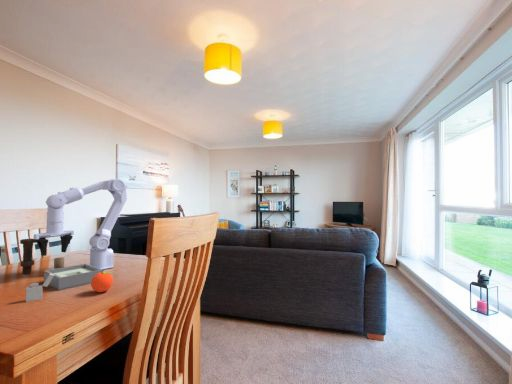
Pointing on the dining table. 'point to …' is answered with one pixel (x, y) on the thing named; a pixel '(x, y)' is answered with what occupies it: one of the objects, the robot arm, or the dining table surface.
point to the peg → (58, 263)
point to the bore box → (72, 276)
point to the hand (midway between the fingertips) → (54, 253)
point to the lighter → (37, 289)
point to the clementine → (102, 282)
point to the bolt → (27, 255)
